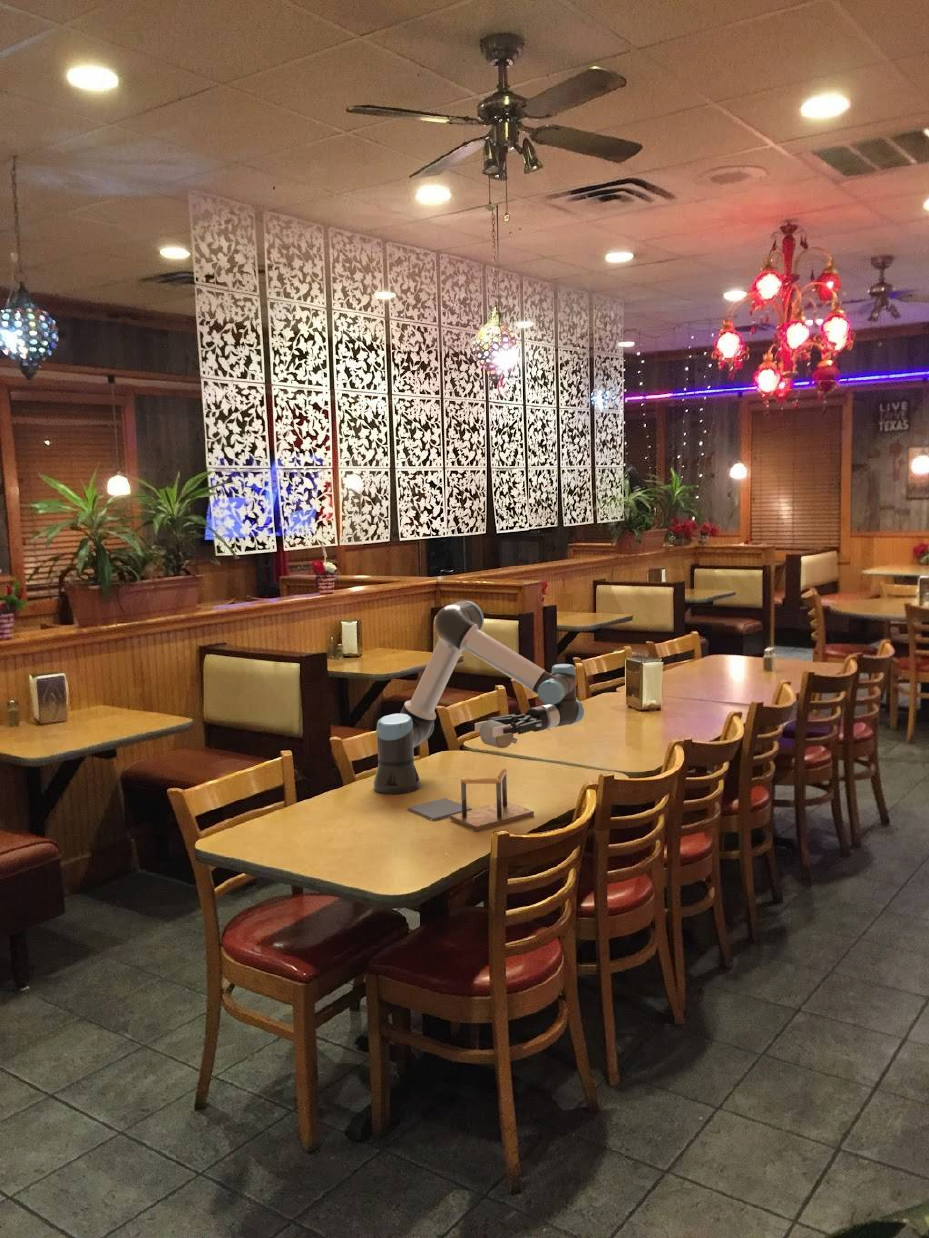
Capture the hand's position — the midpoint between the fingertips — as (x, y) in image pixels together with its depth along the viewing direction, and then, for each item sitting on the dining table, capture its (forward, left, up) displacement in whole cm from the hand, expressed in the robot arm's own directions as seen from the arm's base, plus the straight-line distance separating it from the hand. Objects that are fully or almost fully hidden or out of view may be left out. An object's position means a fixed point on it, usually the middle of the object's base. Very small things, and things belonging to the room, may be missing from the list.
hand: (484, 730), depth 298 cm
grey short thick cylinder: (-1, +6, -6) cm, 9 cm away
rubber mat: (-8, -12, -24) cm, 28 cm away
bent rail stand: (+8, -4, -24) cm, 26 cm away
